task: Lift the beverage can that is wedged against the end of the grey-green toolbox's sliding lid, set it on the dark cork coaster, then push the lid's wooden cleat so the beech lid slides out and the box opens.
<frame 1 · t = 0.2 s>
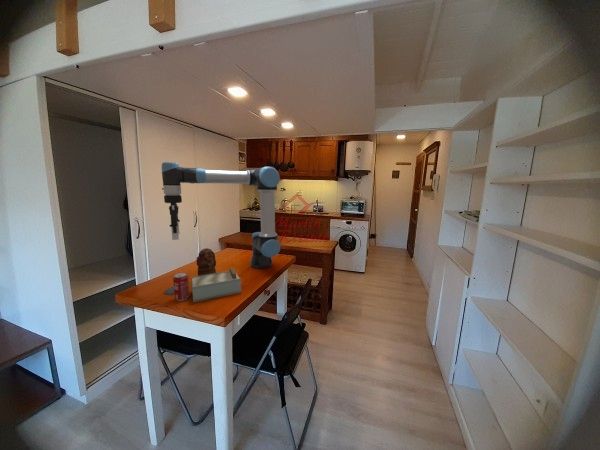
hand: (176, 236, 113), 28 cm above the table, fingers open, 13 cm apart
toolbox: (216, 291, 113), on the table
wooden figurine: (208, 278, 130), on the table
beverage can: (182, 299, 106), on the table
lid: (215, 276, 112), point 8 cm above the table, slide at 0.0 cm
coaster: (174, 290, 114), on the table
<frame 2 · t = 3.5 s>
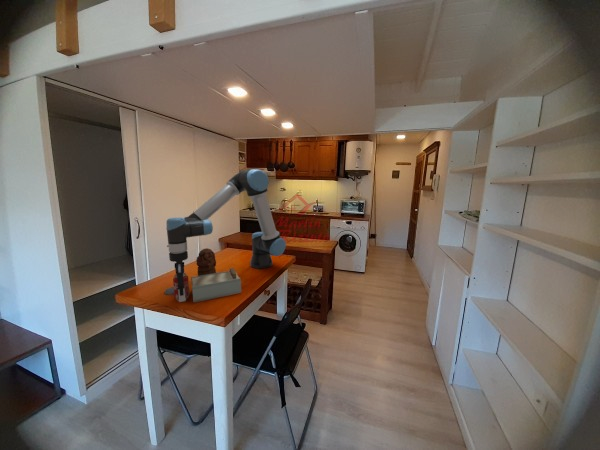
hand: (182, 297, 106), 0 cm above the table, fingers closed on beverage can, 6 cm apart
beverage can: (182, 299, 106), on the table, touching gripper
everything else where it was.
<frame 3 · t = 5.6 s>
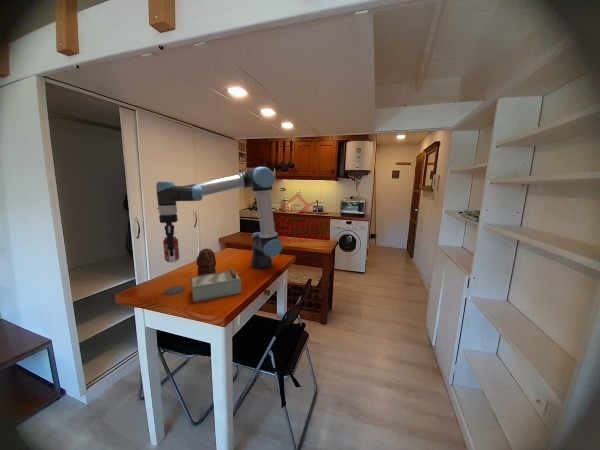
hand: (172, 259, 111), 17 cm above the table, fingers closed on beverage can, 6 cm apart
beverage can: (172, 261, 111), point 16 cm above the table, touching gripper
everything else where it was.
when the fingers open (2 cm above the table, at t = 7.7 s): beverage can drops 1 cm, resting on coaster.
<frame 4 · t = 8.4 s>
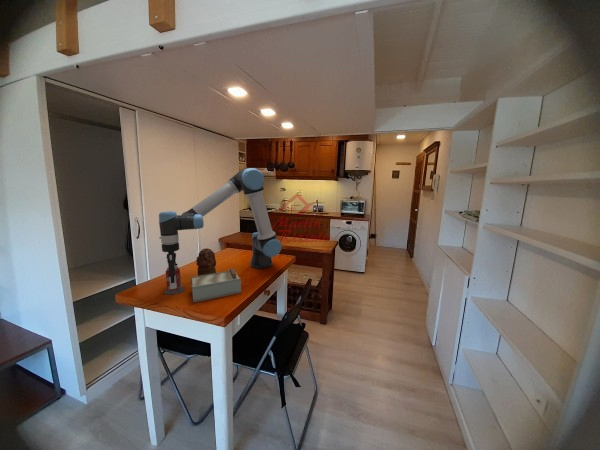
hand: (173, 283, 114), 4 cm above the table, fingers open, 13 cm apart
beverage can: (174, 290, 114), resting on coaster
everything else where it was.
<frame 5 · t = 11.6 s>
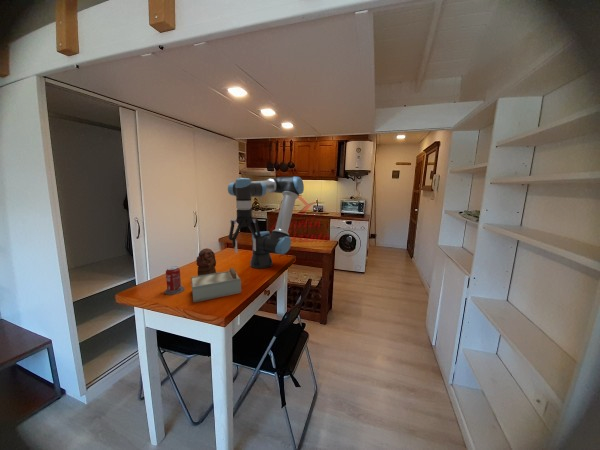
hand: (245, 251, 117), 19 cm above the table, fingers open, 9 cm apart
nothing on the table moved.
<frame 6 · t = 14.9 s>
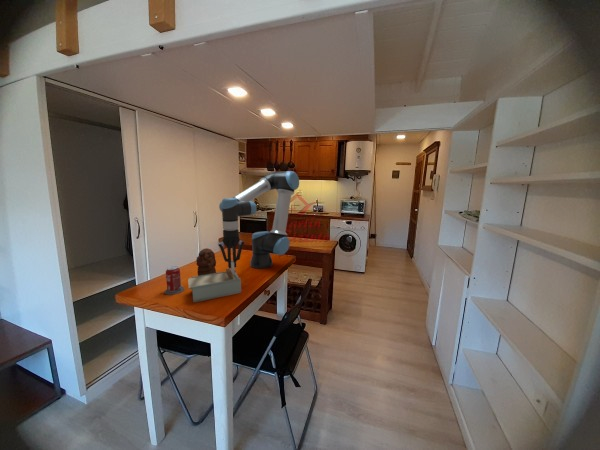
hand: (232, 273, 116), 8 cm above the table, fingers closed
lid: (212, 277, 111), point 8 cm above the table, slide at 1.7 cm, touching gripper
everything else where it was.
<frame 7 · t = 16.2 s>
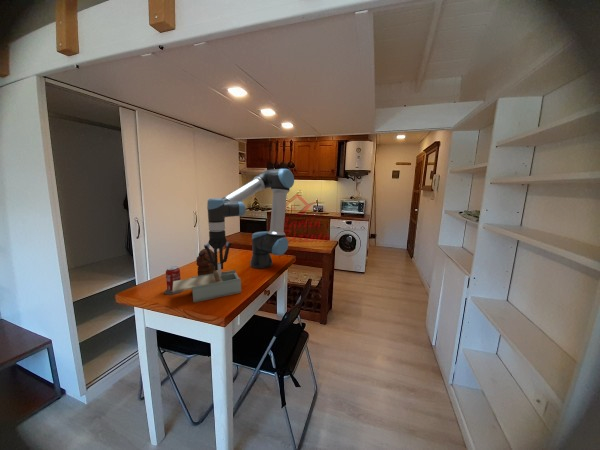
hand: (219, 275, 113), 8 cm above the table, fingers closed
lid: (197, 279, 108), point 8 cm above the table, slide at 8.2 cm, touching gripper
everything else where it was.
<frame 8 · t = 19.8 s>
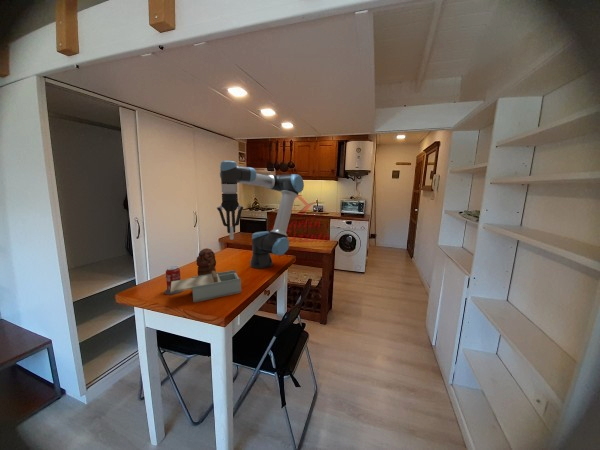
hand: (231, 238, 115), 26 cm above the table, fingers closed
lid: (196, 280, 108), point 8 cm above the table, slide at 9.0 cm
everything else where it was.
at the end: lid slide at 9.0 cm; beverage can 0.0 cm from the coaster (horizontally); beverage can tilted 0° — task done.
